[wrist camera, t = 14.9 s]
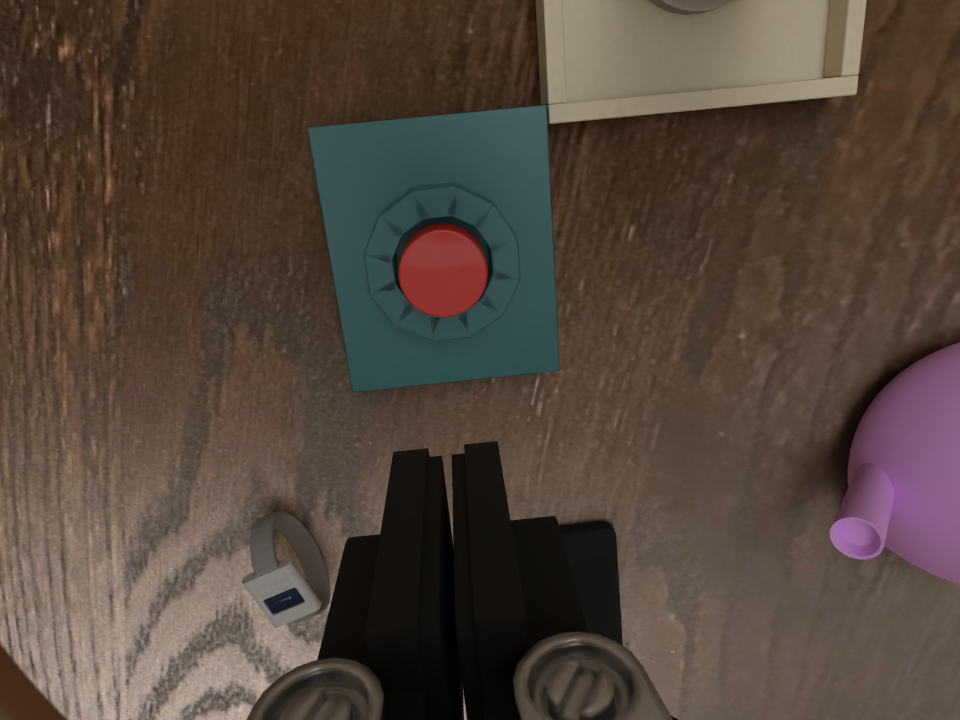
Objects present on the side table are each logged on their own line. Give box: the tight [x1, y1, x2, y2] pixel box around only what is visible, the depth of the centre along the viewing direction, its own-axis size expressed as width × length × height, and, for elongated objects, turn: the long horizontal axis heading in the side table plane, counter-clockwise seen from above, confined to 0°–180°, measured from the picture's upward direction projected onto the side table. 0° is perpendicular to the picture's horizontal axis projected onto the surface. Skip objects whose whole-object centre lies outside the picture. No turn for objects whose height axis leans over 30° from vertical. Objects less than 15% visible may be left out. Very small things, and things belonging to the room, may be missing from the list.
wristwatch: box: [242, 510, 330, 627], centre depth 35 cm, size 6×3×5 cm, turn 24°
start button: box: [398, 223, 488, 317], centre depth 27 cm, size 4×4×2 cm
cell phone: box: [559, 521, 623, 646], centre depth 41 cm, size 9×18×1 cm, turn 7°
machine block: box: [307, 105, 560, 392], centre depth 30 cm, size 12×10×5 cm
